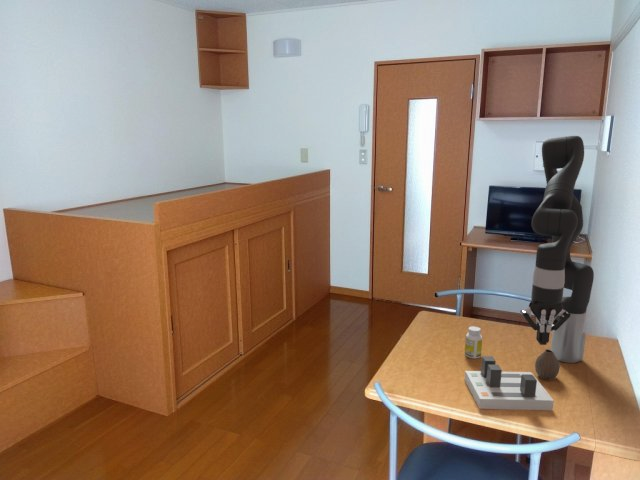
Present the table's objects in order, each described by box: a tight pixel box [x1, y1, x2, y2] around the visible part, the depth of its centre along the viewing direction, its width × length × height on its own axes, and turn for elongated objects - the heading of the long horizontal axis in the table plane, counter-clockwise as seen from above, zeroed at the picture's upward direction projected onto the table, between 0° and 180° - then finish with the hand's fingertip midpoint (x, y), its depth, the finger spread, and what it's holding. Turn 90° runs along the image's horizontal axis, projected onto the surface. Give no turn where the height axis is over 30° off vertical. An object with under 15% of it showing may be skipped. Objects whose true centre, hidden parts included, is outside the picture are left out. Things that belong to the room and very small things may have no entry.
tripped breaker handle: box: [520, 374, 538, 397], centre depth 135 cm, size 3×3×5 cm
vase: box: [534, 348, 560, 381], centre depth 151 cm, size 7×7×9 cm
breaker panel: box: [464, 355, 555, 411], centre depth 141 cm, size 20×16×8 cm
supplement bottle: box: [464, 325, 483, 359], centre depth 166 cm, size 5×5×10 cm
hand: (542, 343), depth 133 cm, fingers closed
